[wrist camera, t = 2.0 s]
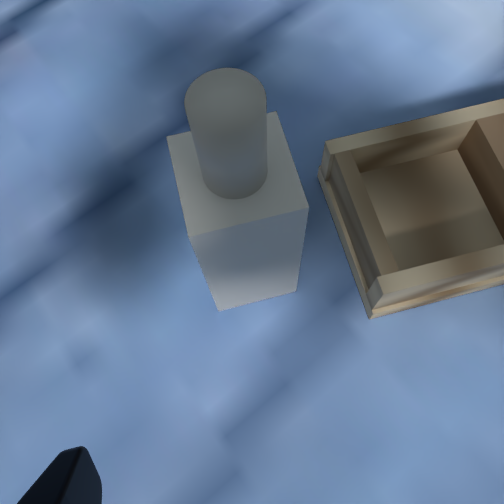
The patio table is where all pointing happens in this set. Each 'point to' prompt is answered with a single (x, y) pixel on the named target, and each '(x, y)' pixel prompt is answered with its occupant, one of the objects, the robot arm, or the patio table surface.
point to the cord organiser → (420, 206)
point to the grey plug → (239, 190)
